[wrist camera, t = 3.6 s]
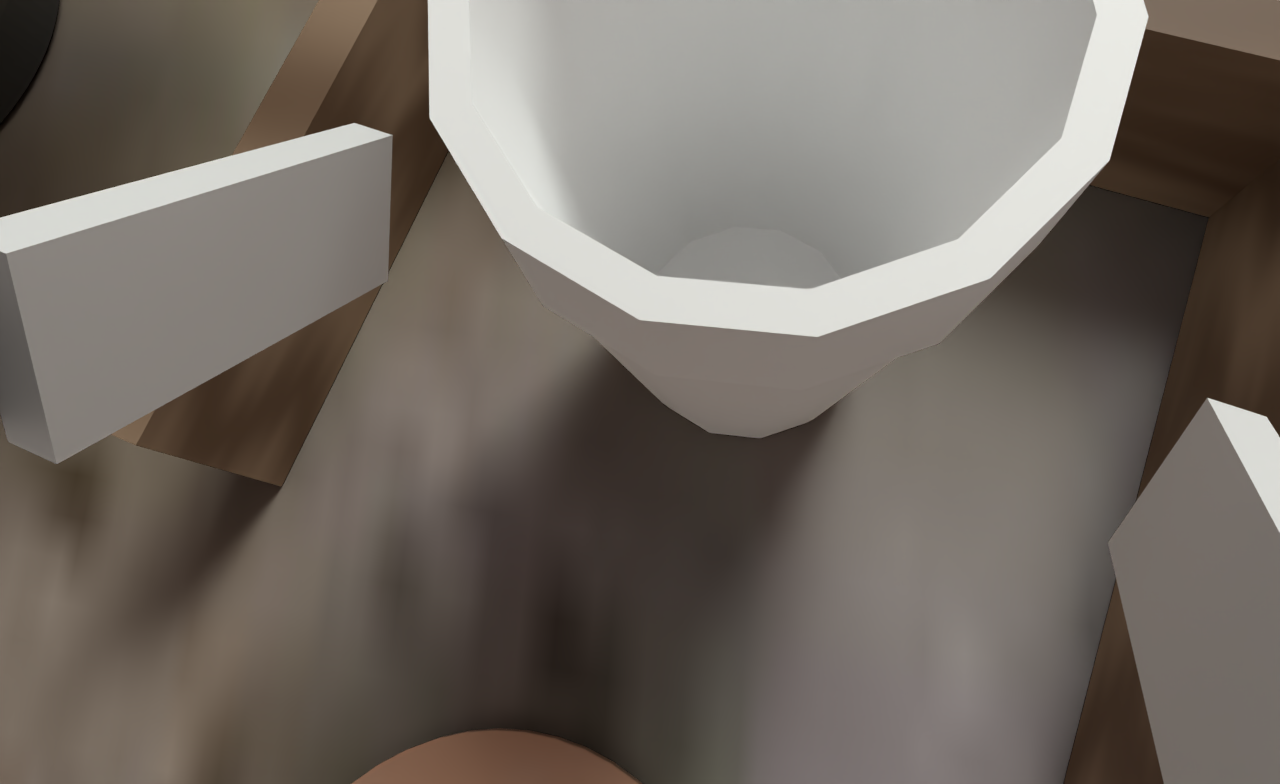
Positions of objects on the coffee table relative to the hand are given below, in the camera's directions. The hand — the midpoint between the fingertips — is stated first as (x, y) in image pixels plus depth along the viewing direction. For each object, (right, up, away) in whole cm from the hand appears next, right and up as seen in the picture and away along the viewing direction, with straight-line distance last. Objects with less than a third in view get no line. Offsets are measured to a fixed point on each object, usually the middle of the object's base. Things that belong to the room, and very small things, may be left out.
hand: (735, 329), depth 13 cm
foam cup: (+2, +1, +10) cm, 11 cm away
